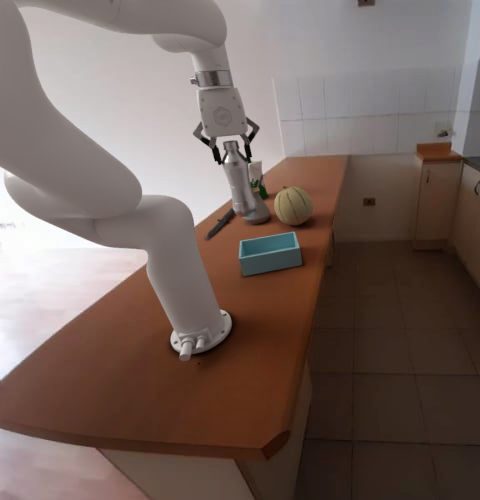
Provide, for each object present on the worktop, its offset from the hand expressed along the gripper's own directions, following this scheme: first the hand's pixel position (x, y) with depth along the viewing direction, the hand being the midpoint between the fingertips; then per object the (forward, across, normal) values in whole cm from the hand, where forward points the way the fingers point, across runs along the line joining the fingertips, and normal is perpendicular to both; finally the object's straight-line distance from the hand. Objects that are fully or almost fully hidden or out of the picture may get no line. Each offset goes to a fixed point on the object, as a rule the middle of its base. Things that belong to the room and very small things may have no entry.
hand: (234, 161), depth 72 cm
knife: (+30, -14, +34) cm, 47 cm away
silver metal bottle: (+15, 0, 0) cm, 15 cm away
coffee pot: (+30, +3, +37) cm, 48 cm away
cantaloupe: (+30, +16, +23) cm, 41 cm away
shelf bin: (+30, +4, -2) cm, 31 cm away
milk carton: (+30, +2, +61) cm, 68 cm away
